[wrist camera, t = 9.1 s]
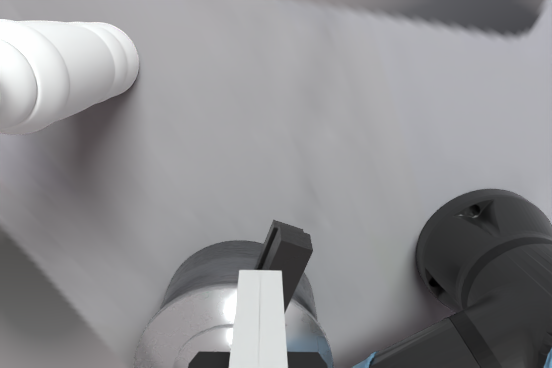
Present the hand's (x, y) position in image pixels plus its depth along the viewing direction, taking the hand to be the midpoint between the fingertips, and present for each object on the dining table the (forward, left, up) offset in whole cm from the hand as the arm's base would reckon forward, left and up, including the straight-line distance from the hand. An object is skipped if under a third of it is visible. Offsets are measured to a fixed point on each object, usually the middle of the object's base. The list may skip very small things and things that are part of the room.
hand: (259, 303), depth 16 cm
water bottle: (+17, 0, -33) cm, 37 cm away
